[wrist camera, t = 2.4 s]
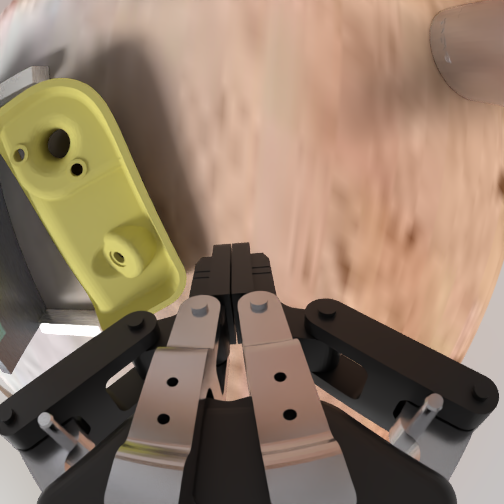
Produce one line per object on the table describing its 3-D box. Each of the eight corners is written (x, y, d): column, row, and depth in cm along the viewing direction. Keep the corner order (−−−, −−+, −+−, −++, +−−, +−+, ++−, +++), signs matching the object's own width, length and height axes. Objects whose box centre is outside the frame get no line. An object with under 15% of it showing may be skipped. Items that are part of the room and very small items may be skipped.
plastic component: (196, 289, 24) (97, 345, 21) (173, 255, 30) (94, 300, 27) (92, 53, 13) (-31, 132, 11) (95, 74, 19) (1, 130, 16)
